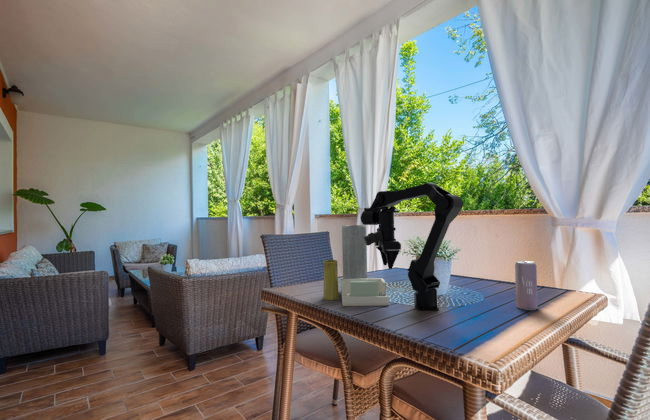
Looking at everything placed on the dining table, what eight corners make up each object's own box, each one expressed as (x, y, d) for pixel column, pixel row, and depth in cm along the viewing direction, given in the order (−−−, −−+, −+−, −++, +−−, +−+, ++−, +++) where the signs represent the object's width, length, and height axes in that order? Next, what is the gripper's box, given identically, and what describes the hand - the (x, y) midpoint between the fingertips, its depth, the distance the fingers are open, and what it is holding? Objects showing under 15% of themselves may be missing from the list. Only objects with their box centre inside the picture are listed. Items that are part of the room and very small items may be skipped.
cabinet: (382, 296, 125) (382, 278, 125) (388, 305, 112) (388, 285, 112) (341, 296, 126) (341, 278, 126) (342, 305, 113) (342, 286, 113)
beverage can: (536, 306, 107) (534, 261, 108) (539, 311, 102) (537, 263, 102) (515, 304, 110) (513, 260, 110) (517, 309, 104) (515, 262, 105)
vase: (337, 300, 120) (337, 261, 120) (321, 300, 121) (320, 261, 121) (340, 296, 126) (339, 259, 126) (324, 296, 127) (324, 259, 127)
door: (377, 300, 116) (376, 280, 116) (378, 301, 114) (377, 281, 114) (350, 300, 116) (350, 281, 116) (351, 302, 114) (350, 282, 114)
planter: (338, 292, 133) (337, 226, 133) (351, 287, 141) (349, 225, 142) (360, 295, 127) (358, 226, 128) (371, 290, 135) (370, 225, 136)
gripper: (361, 225, 130) (362, 264, 130) (368, 226, 111) (369, 271, 111) (389, 224, 130) (390, 263, 130) (400, 225, 112) (402, 270, 111)
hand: (387, 267), depth 121 cm, fingers open, 9 cm apart
